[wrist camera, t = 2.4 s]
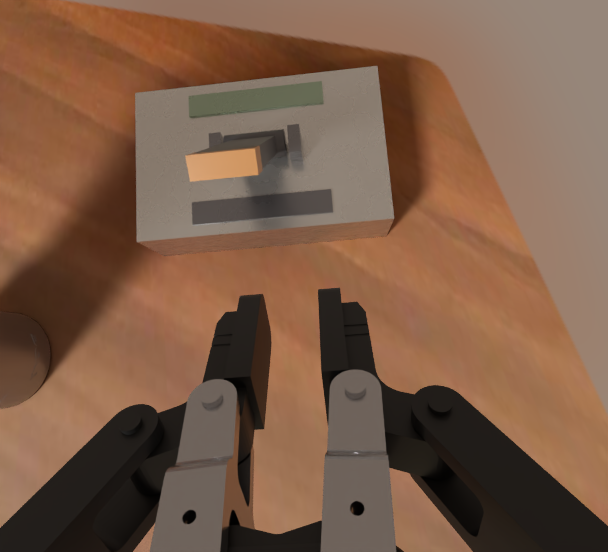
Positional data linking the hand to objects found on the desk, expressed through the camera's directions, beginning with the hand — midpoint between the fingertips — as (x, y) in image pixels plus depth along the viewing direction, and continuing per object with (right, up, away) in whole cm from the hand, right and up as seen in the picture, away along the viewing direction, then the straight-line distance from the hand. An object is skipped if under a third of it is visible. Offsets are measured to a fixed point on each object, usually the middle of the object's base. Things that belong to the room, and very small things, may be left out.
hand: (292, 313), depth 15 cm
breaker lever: (-4, +13, +23) cm, 27 cm away
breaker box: (-3, +11, +29) cm, 31 cm away
